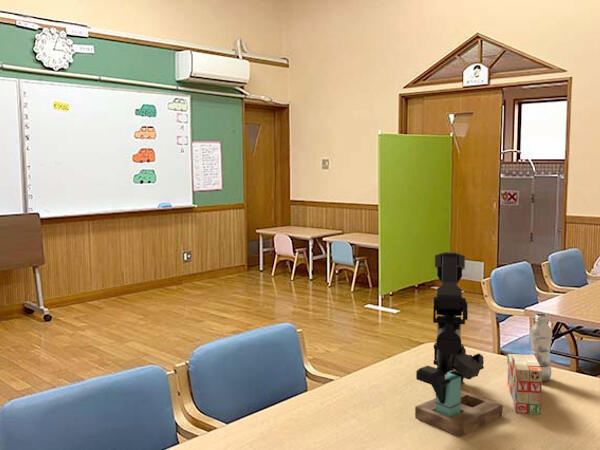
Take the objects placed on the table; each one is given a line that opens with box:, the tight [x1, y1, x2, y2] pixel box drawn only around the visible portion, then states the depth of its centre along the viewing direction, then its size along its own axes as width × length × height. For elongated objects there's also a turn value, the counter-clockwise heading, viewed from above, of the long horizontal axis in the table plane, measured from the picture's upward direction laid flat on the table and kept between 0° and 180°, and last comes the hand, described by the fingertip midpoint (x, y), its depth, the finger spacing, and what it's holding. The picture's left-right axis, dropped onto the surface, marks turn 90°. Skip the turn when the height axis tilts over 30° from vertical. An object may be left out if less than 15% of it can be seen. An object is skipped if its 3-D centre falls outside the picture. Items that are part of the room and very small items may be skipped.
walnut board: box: [414, 389, 503, 438], centre depth 152 cm, size 14×18×3 cm
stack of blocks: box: [507, 353, 543, 416], centre depth 163 cm, size 21×6×12 cm, turn 167°
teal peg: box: [435, 373, 462, 418], centre depth 149 cm, size 4×4×10 cm
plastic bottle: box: [529, 313, 553, 382], centre depth 176 cm, size 6×7×20 cm
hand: (448, 400), depth 149 cm, fingers closed on teal peg, 4 cm apart
